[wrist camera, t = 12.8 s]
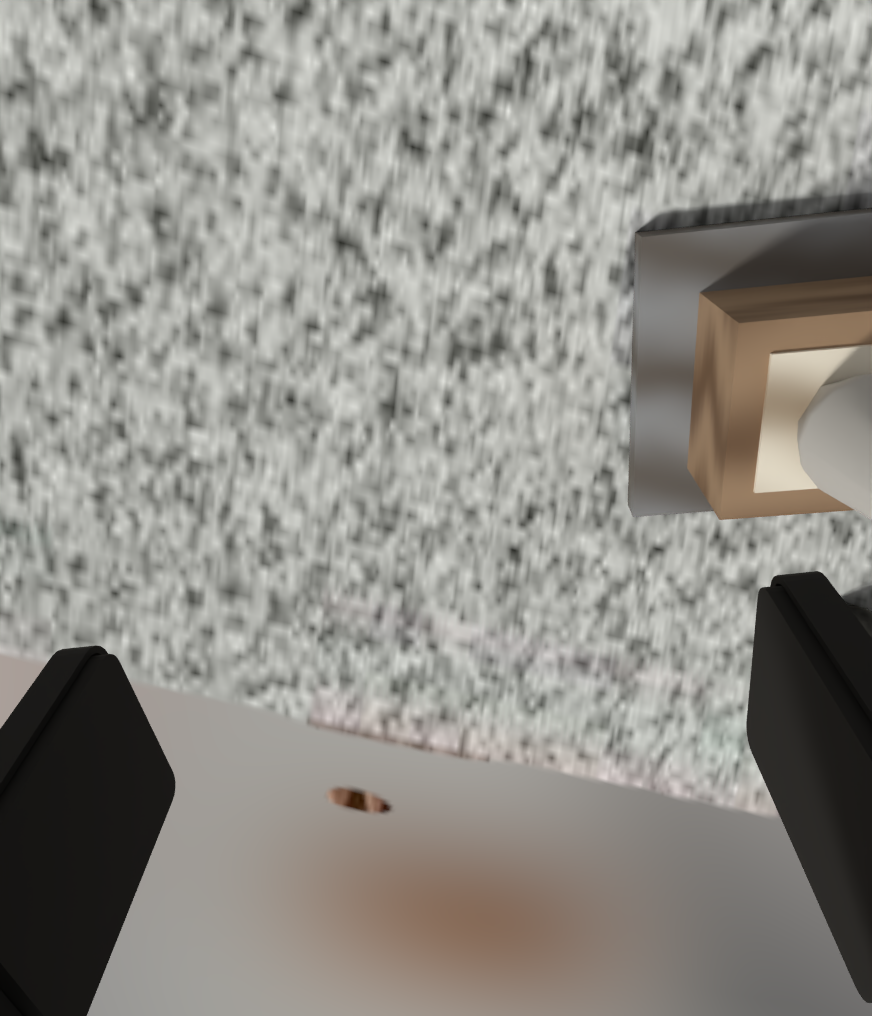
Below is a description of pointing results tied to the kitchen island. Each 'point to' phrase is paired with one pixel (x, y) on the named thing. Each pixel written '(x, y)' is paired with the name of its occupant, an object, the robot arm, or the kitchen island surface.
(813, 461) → the salt shaker
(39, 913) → the robot arm
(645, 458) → the plinth
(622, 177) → the kitchen island surface
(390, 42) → the kitchen island surface
